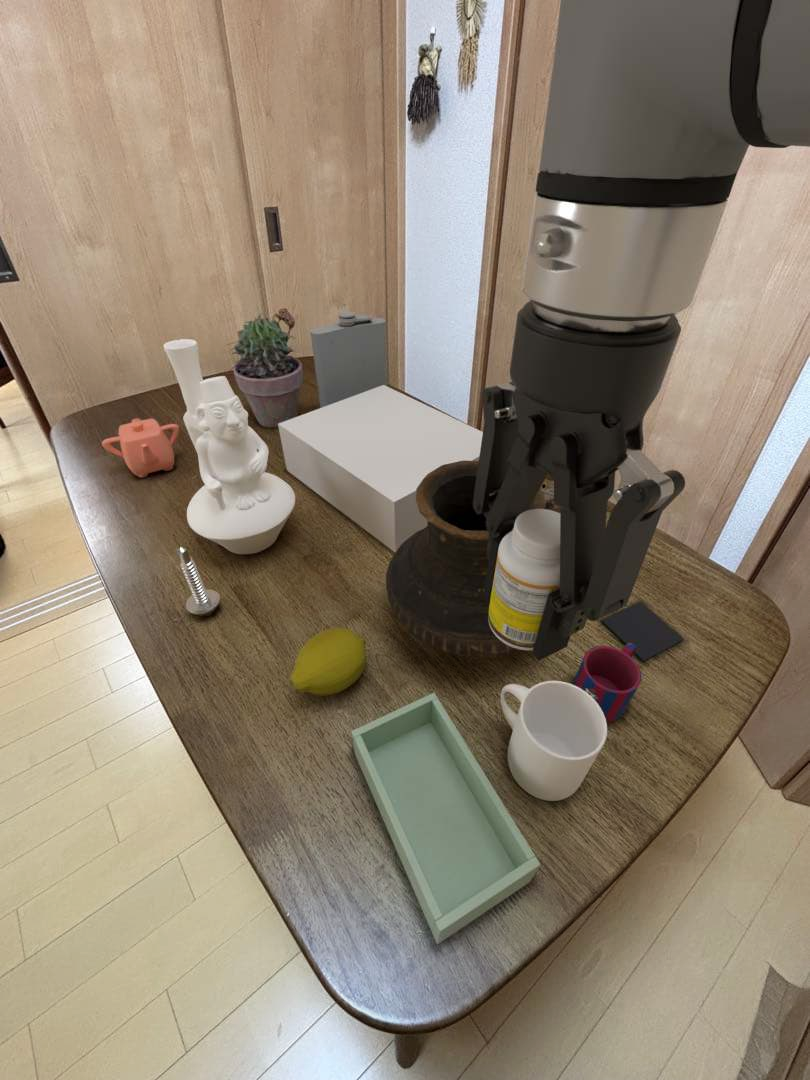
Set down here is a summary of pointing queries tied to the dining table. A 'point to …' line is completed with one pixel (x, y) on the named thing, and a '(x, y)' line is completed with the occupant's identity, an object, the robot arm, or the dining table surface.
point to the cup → (609, 678)
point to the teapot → (144, 446)
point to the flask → (349, 357)
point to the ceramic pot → (447, 567)
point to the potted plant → (268, 370)
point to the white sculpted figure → (228, 462)
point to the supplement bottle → (525, 577)
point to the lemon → (329, 662)
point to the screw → (197, 588)
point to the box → (375, 457)
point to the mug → (553, 737)
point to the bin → (442, 815)
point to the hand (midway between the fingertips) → (522, 620)
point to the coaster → (642, 630)
